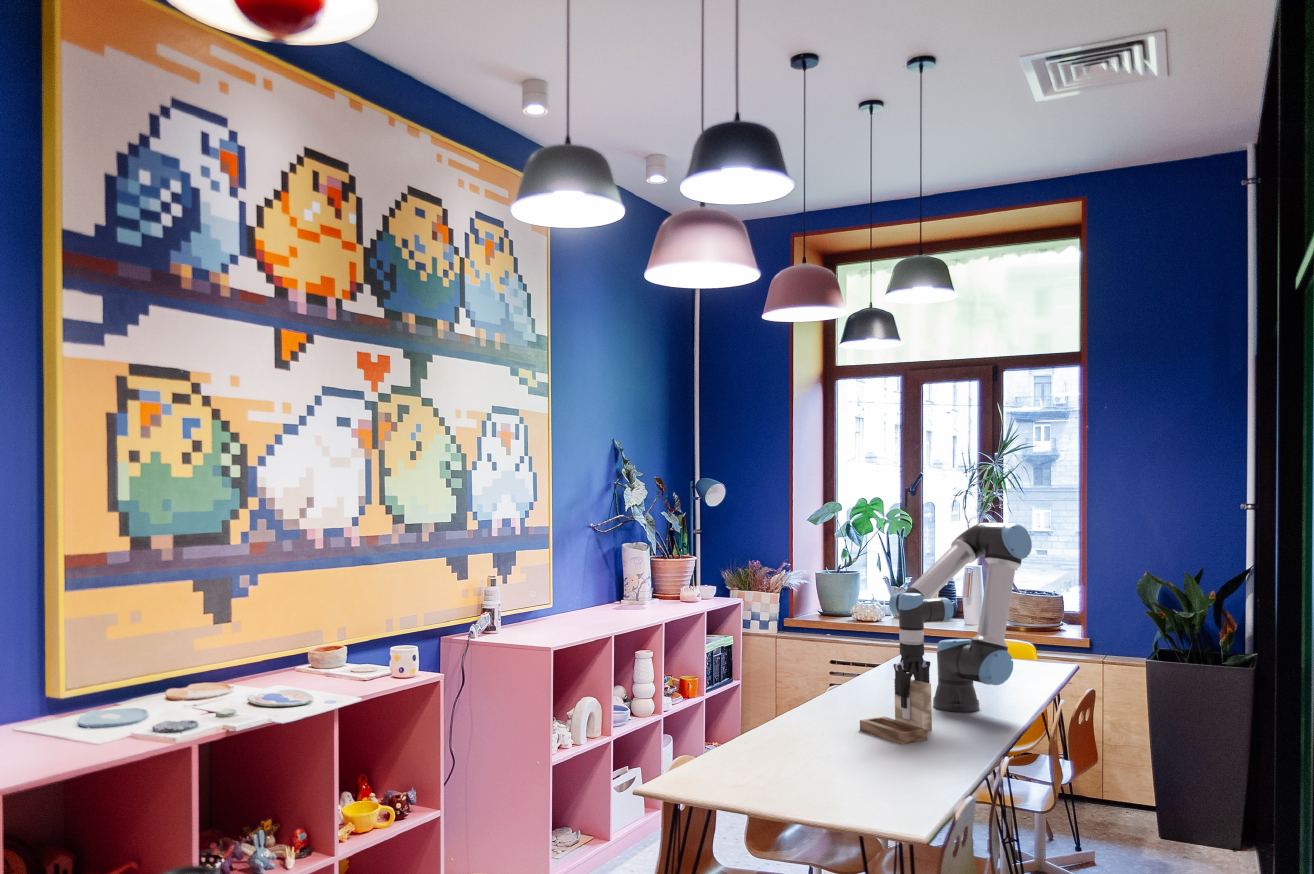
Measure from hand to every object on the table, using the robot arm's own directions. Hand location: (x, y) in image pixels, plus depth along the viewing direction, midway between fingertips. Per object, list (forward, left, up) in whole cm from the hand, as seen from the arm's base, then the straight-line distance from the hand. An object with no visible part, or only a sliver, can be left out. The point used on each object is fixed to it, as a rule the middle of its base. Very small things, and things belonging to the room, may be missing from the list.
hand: (913, 717), depth 288 cm
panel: (0, 0, -3) cm, 3 cm away
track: (+13, +5, -3) cm, 14 cm away
